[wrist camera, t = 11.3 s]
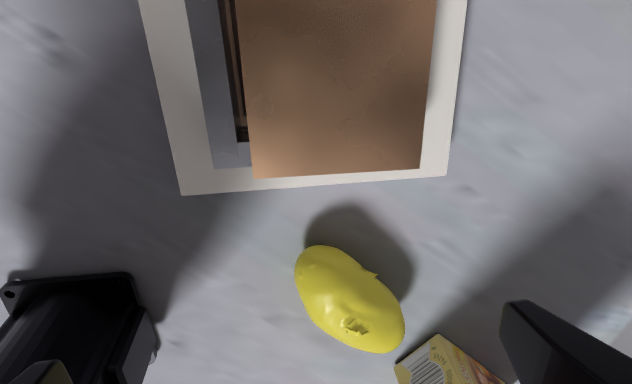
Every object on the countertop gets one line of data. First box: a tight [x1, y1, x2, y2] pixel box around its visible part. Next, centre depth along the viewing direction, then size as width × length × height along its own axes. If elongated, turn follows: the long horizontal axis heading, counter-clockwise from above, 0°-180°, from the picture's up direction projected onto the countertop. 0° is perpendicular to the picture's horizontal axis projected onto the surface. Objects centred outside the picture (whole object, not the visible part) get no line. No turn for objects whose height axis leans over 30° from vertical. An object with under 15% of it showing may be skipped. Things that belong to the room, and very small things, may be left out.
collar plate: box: [138, 0, 467, 196], centre depth 15 cm, size 12×12×4 cm
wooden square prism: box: [235, 0, 437, 179], centre depth 13 cm, size 4×4×9 cm
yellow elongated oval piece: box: [294, 245, 405, 353], centre depth 21 cm, size 4×8×4 cm, turn 36°
